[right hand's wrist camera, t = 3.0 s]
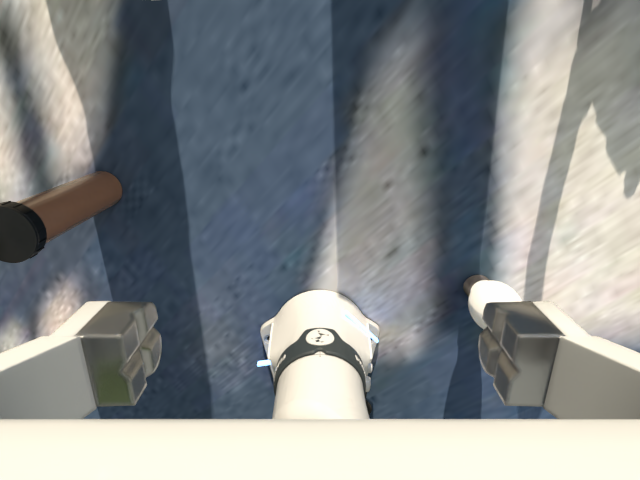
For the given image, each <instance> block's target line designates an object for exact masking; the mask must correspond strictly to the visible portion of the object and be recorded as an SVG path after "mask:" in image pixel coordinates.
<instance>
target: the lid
mask: <svg viewBox="0 0 640 480" xmlns="http://www.w3.org/2000/svg"><path fill="white" fill-rule="evenodd" d="M46 240H47V232H46V228H45V225H44V223H43V221H42V219H41V218H40V217H39V216H38V214H37V213H36V212H34V211H33V209H31V208H29V207H27V206H25V205H23V204H22V203H17V202H11V201H8V202H2V203H0V260H1V261H4V262H9V263H18V262H22V261H25V260H27V259H28V258H32V257H34V256H35V255H37V254H38V253H39V252H40V251H41V250H42V249H43V248H44V246H45V243H46Z"/></svg>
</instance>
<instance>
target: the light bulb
mask: <svg viewBox="0 0 640 480" xmlns="http://www.w3.org/2000/svg"><path fill="white" fill-rule="evenodd" d="M463 288H464V291H465V293H466V294H467V296H468V297H469V300H468V307H469V311H470V314H471V316H472V318H473V319H474V321H475V322H476V323H477V324H478V325H479V326H480V327H481V328H483V329H485V328H486V327H487V325H486V324H485V322H484V321H483V319H482V316H483V310H484V307H485V305H486V303H490V302H522V301H521V299H520V297H519V295H518V294H517V293H516V292H515V291H514V290H513V289H512V288H511V287H510V286H508V285H506V284H504V283H502V282H498V281H489V279H488V278H487V277H485V276H482V275H474V276H471V277H469V278H468V279H467V280H466V281H465V283H464V286H463Z"/></svg>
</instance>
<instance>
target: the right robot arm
mask: <svg viewBox="0 0 640 480" xmlns="http://www.w3.org/2000/svg"><path fill="white" fill-rule="evenodd" d="M157 319H158V316H157V311H156V306H155V305H154V304H153V303H152V302H117V301H112V302H111V301H92V302H86V303H85V304H84V305H83V306H82V307H81V308H80V309H79V310H78V311H77V312H75V313H74V314H73V315H72V316H71V317H70V318H69V319H68V320H67V321H66V322H64V323H63V324H62V325H61V326H60V327H59V328H58V329H57V330H56V331H55V332H53V333H52V334H51V335H50V336H42V337H39V338H37V339H34V340H32V341H29V342H27V343H24V344H22V345H19V346H17V347H14V348H12V349H9V350H7V351H4V352H2V353H0V480H640V353H638V352H636V351H633V350H631V349H628V348H626V347H623V346H621V345H618V344H616V343H613V342H611V341H608V340H606V339H603V338H601V337H598V336H590V335H589V334H588V333H587V332H586V331H584V330H583V329H582V328H581V327H580V326H579V325H578V324H577V323H576V322H575V321H573V320H572V319H571V318H570V317H569V316H568V315H567V314H566V313H565V312H564V311H562V310H561V309H560V308H559V307H558V306H557V305H556V304H555V303H554V302H550V301H534V302H531V301H522V302H490V303H486V305H485V307H484V310H483V316H482V319H483V321H484V322H485V324H486V325H487V327H486V328H485V329H484V330H483V331H482V332H481V333H480V335H479V344H478V349H479V358H480V361H481V364H482V367H483V368H484V370H485V372H486V373H488V374H489V375H491V376H492V377H494V383H493V386H494V387H495V389H496V391H497V392H498V394H499V396H500V398H501V399H502V401H503V403H504V404H505V406H542V407H543V408H544V409H545V410H546V411H548V412H549V413H551V414H552V415H553V416H555V417H556V418H557V419H370V418H369V414H370V413H371V411H372V407H371V405H370V403H369V402H368V401H367V400H366V399H365V398H366V394H367V392H369V390H370V384H371V380H370V377H369V376H367V375H368V373H371V372H372V364H371V361H372V358H373V354H374V351H375V347H376V344H377V343H378V337H379V326H378V325H377V324H376V323H374V322H373V321H371V320H370V319H368V318H366V317H365V316H364V315H363V314H362V313H361V311H360V310H359V308H358V307H357V306H356V305H355V304H354V303H353V302H352V301H351V300H350V299H348V298H347V297H345V296H343V295H341V294H339V293H336V292H332V291H327V290H313V291H308V292H304V293H301V294H299V295H297V296H295V297H293V298H292V299H290V300H289V301H288V302H287V303H286V304H285V305H284V306H283V307H282V308H281V310H280V311H279V313H278V314H277V315H276V316H275V317H274V318H272V319H271V320H269V321H267V322H266V323H264V324H263V325H262V326H261V337H262V340H263V344H264V347H265V351H266V354H267V358H268V360H264V361H258V364H257V366H265V365H270V368H271V372H272V375H273V379H274V393H275V404H274V411H273V418H272V419H83V418H84V417H86V416H87V415H88V414H90V413H91V412H92V411H94V410H95V409H96V407H98V406H133V405H135V404H136V403H137V401H138V399H139V398H140V396H141V394H142V392H143V391H144V389H145V387H146V386H147V383H146V377H148V376H149V375H151V374H152V373H154V372H155V370H156V368H157V366H158V365H159V361H160V357H161V351H162V342H161V335H160V333H159V332H158V331H157V330H156V329H155V328H154V327H153V325H154V324H155V322H156V321H157ZM268 336H270V338H268ZM370 337H371V338H370Z"/></svg>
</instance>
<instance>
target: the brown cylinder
mask: <svg viewBox="0 0 640 480" xmlns="http://www.w3.org/2000/svg"><path fill="white" fill-rule="evenodd" d="M121 197H122V187H121V184H120V182H119V180H118V179H117V178H116V177H115V176H114V175H112V174H110V173H108V172H105V171H97V172H94V173H91V174H89V175H86V176H83V177H81V178H78V179H76V180H73V181H70V182H68V183H65V184H62V185H60V186H57V187H54V188H52V189H49V190H46V191H44V192H41V193H38V194H36V195H33V196H30V197H28V198H25V199H22V200H20V201H17V203H22V204H23V205H25V206H27V207H29V208H31V209H33V211H34V212H36V213H37V214H38V216H39V217H40V218H41V219H42V221H43V223H44V225H45V228H46V232H47V240H46V243H48V242H50V241H51V240H53V239H55V238H57V237H58V236H60V235H62V234H64V233H65V232H67V231H69V230H71V229H72V228H74V227H76V226H78V225H79V224H81V223H83V222H85V221H86V220H88V219H90V218H92V217H93V216H95V215H97V214H99V213H100V212H102V211H104V210H106V209H107V208H109V207H111V206H113V205H114V204H116V203H117V202H119V200H120V199H121ZM46 243H45V244H46Z"/></svg>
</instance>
